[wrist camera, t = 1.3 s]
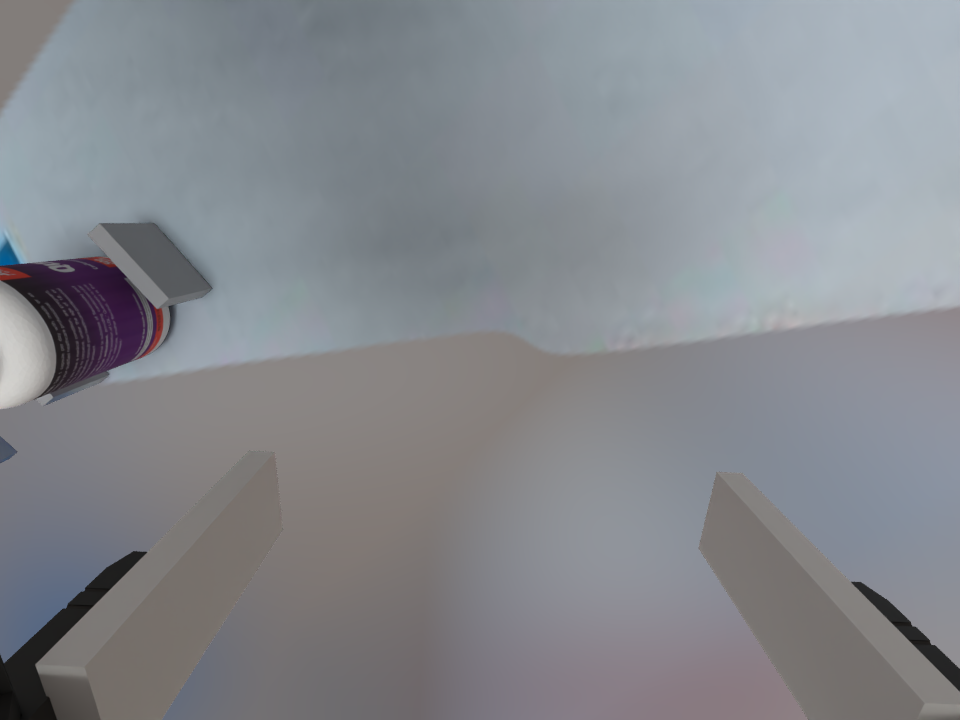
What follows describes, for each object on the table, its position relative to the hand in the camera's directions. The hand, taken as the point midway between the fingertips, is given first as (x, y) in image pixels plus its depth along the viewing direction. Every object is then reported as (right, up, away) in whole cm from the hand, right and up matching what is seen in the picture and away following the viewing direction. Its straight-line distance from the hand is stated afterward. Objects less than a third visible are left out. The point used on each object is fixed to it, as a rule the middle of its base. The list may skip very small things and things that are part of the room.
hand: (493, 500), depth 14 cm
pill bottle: (-28, +8, +22) cm, 37 cm away
